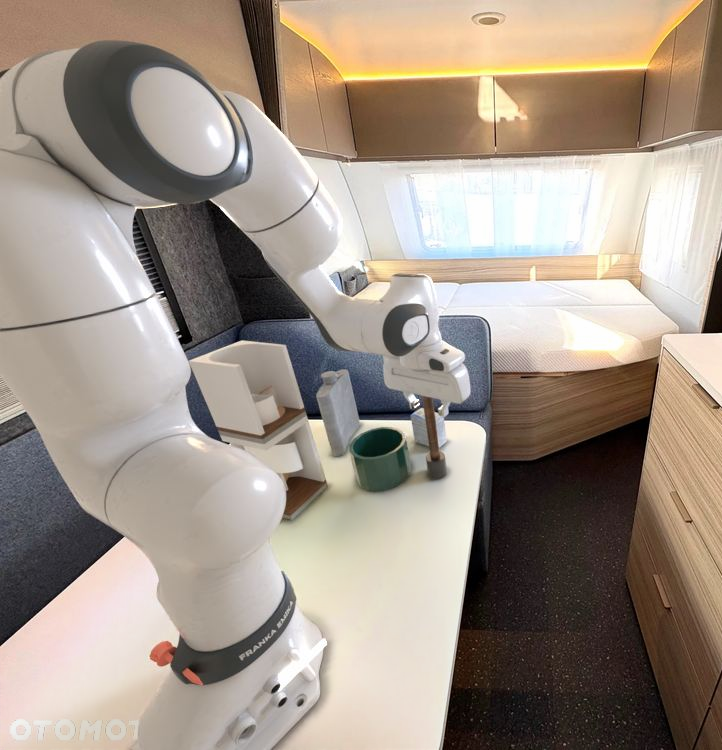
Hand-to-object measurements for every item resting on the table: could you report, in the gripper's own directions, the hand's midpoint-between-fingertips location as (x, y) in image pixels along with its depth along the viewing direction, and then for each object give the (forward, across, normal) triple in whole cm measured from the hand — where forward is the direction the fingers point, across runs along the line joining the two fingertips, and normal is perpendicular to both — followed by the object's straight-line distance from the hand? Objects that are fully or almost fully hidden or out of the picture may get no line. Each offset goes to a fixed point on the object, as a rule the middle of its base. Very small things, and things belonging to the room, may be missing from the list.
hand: (429, 411), depth 84 cm
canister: (+17, -12, -5) cm, 22 cm away
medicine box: (+17, -9, +10) cm, 22 cm away
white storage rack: (+17, -26, -20) cm, 37 cm away
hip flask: (+17, -32, +2) cm, 36 cm away
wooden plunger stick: (+17, 0, 0) cm, 17 cm away
